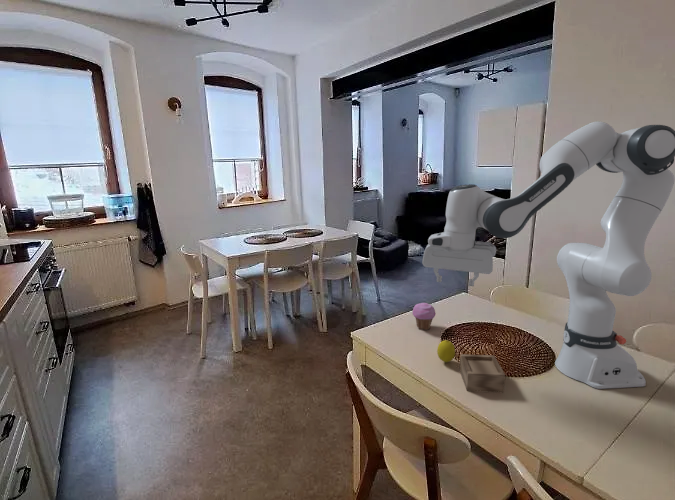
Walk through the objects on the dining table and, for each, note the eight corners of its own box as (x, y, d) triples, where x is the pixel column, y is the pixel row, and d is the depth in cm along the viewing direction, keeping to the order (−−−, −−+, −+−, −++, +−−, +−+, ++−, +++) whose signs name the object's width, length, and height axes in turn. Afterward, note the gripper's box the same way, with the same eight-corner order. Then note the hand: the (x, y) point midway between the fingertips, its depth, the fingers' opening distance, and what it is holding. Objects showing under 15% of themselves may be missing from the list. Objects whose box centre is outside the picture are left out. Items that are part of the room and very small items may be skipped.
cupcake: (434, 334, 135) (435, 309, 132) (410, 331, 138) (411, 307, 135) (435, 323, 143) (436, 300, 141) (413, 321, 146) (414, 298, 143)
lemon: (455, 367, 114) (456, 345, 112) (437, 366, 115) (438, 344, 113) (453, 358, 119) (454, 336, 117) (436, 356, 120) (437, 335, 118)
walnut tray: (492, 372, 111) (494, 355, 110) (503, 393, 102) (505, 374, 100) (459, 371, 112) (460, 354, 111) (466, 391, 103) (468, 373, 101)
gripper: (496, 240, 106) (491, 284, 109) (426, 234, 113) (423, 276, 116) (497, 245, 100) (491, 291, 103) (423, 239, 107) (420, 282, 111)
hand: (454, 283), depth 110 cm, fingers open, 8 cm apart
